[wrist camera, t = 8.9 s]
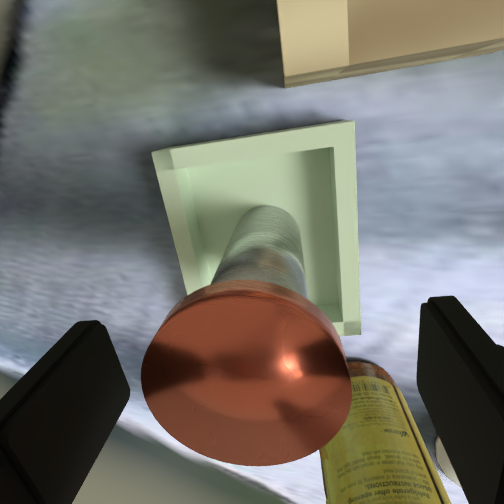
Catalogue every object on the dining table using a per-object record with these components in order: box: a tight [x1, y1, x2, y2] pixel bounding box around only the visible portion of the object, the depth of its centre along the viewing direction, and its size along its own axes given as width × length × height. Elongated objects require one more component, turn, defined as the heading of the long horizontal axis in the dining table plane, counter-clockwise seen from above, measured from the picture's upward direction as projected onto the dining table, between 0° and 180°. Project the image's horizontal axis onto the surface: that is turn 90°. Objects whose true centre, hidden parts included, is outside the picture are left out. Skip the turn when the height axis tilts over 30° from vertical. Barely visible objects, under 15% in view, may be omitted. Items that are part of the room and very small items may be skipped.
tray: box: [151, 120, 361, 336], centre depth 19 cm, size 12×10×3 cm
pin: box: [141, 205, 352, 466], centre depth 14 cm, size 6×6×12 cm
